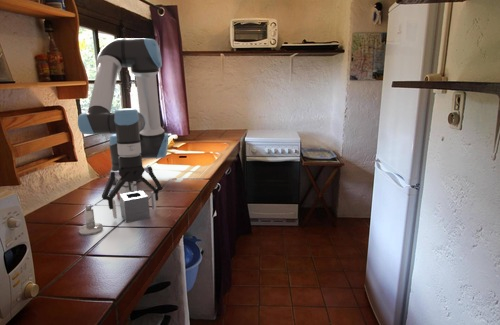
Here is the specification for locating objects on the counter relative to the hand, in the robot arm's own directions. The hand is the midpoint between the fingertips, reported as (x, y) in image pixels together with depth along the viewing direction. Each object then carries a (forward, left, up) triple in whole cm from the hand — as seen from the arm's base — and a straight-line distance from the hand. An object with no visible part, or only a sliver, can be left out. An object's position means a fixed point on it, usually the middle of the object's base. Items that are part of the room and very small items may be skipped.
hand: (135, 213), depth 121 cm
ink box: (-20, +2, -2) cm, 21 cm away
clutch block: (0, 0, -1) cm, 1 cm away
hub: (+4, -15, -1) cm, 15 cm away
